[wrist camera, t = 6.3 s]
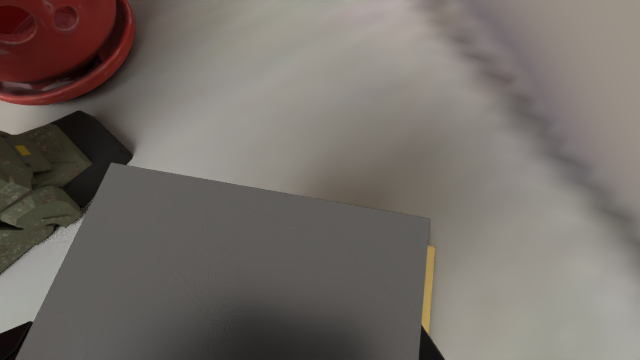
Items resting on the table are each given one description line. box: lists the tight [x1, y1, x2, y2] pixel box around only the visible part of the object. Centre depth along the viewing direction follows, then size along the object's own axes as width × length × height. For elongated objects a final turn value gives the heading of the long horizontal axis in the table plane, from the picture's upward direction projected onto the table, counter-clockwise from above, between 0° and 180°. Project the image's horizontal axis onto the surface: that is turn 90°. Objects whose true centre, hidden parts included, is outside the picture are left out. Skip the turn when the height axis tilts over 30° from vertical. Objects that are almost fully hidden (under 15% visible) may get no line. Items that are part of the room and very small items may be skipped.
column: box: [15, 163, 430, 360], centre depth 9 cm, size 4×4×12 cm
